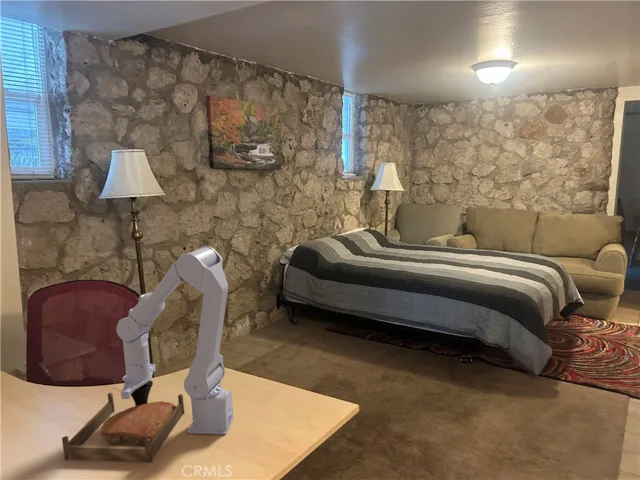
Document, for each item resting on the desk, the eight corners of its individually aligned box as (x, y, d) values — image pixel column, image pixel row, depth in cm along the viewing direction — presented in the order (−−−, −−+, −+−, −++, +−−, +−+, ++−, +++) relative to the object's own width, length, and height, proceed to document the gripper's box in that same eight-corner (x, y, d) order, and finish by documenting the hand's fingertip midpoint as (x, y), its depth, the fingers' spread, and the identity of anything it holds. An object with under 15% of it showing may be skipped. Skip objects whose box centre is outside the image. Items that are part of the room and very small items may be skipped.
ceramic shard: (122, 393, 119) (179, 401, 118) (119, 417, 119) (176, 425, 119) (92, 418, 104) (157, 428, 104) (89, 445, 105) (154, 455, 104)
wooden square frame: (185, 411, 119) (183, 394, 118) (151, 462, 100) (149, 442, 99) (111, 410, 121) (109, 392, 120) (63, 459, 101) (60, 439, 100)
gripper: (135, 348, 123) (139, 394, 125) (106, 373, 108) (112, 426, 111) (161, 348, 122) (165, 395, 125) (135, 374, 108) (140, 427, 110)
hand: (141, 410), depth 118 cm, fingers closed
